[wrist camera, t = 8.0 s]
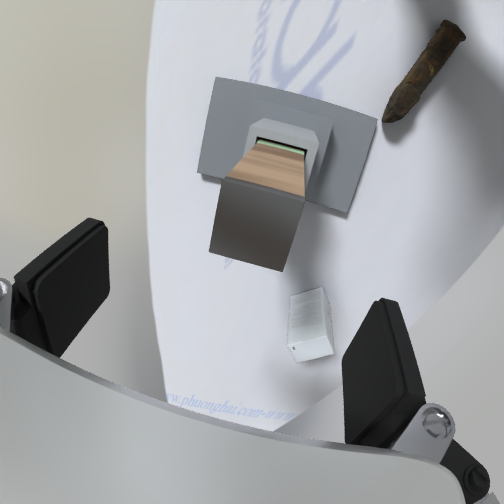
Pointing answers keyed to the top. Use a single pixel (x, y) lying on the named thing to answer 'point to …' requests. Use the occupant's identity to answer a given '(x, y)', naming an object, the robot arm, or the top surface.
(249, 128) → the stand base
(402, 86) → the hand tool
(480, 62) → the top surface
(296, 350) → the skincare box
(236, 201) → the post
